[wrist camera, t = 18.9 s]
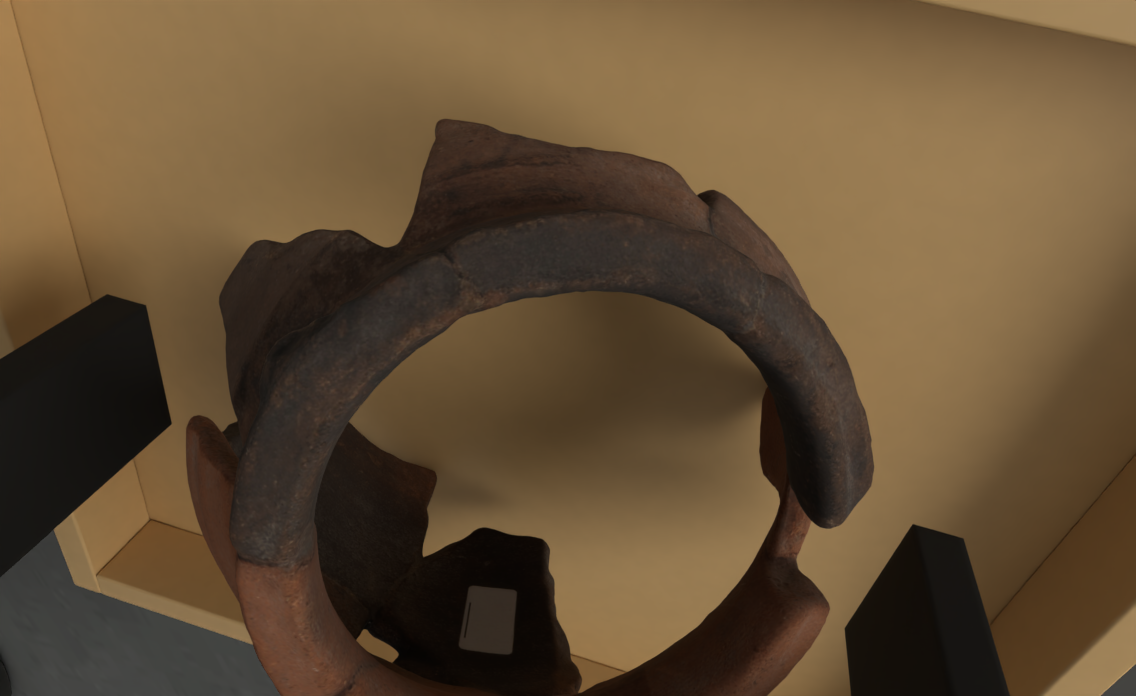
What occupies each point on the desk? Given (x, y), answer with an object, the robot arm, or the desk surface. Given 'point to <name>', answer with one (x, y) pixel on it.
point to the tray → (624, 320)
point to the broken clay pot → (403, 490)
